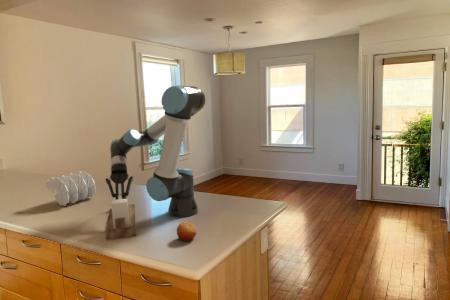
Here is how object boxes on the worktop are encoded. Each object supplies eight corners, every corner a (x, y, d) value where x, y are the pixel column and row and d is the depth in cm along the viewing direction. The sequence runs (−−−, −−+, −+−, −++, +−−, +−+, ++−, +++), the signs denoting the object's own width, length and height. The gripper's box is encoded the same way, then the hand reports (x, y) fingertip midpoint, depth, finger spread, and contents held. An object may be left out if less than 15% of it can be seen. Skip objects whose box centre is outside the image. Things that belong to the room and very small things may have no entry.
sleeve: (129, 223, 155) (127, 198, 154) (129, 227, 149) (127, 202, 148) (114, 225, 153) (112, 200, 152) (113, 229, 148) (111, 203, 146)
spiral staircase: (96, 203, 210) (60, 213, 188) (78, 189, 217) (41, 197, 195) (104, 178, 205) (68, 185, 183) (85, 164, 212) (48, 169, 190)
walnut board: (134, 206, 188) (133, 192, 187) (136, 236, 144) (134, 217, 143) (112, 208, 185) (110, 194, 184) (106, 240, 141) (104, 221, 140)
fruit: (177, 231, 144) (185, 216, 142) (192, 241, 143) (201, 226, 141) (169, 238, 137) (177, 222, 135) (185, 249, 135) (194, 234, 133)
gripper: (132, 170, 173) (135, 211, 159) (105, 172, 170) (106, 214, 156) (132, 161, 167) (135, 203, 153) (104, 163, 164) (104, 206, 150)
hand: (120, 209), depth 155 cm, fingers closed
